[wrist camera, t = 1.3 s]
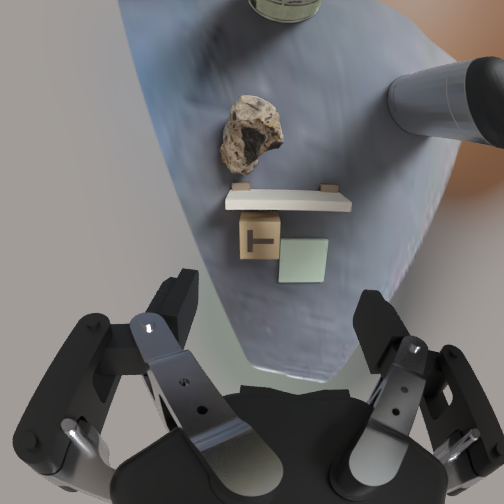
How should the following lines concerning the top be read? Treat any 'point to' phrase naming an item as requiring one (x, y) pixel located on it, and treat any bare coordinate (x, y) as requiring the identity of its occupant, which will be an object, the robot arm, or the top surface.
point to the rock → (250, 133)
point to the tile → (302, 259)
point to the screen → (286, 199)
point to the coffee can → (286, 9)
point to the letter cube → (259, 235)
